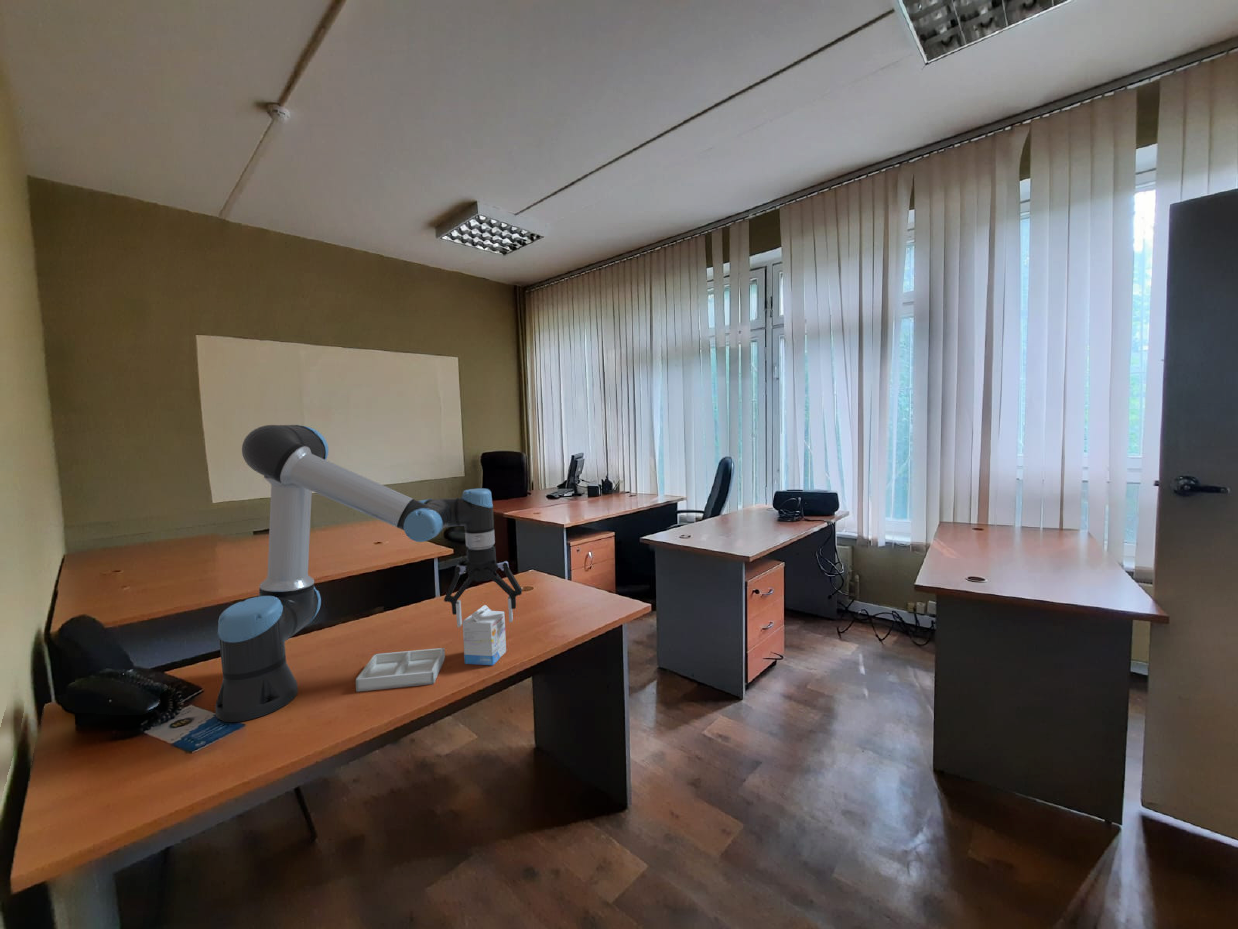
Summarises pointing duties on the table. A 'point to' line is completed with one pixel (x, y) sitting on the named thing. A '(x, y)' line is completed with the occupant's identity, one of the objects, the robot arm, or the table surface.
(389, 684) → the caddy
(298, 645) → the table surface
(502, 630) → the ink box
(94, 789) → the table surface
